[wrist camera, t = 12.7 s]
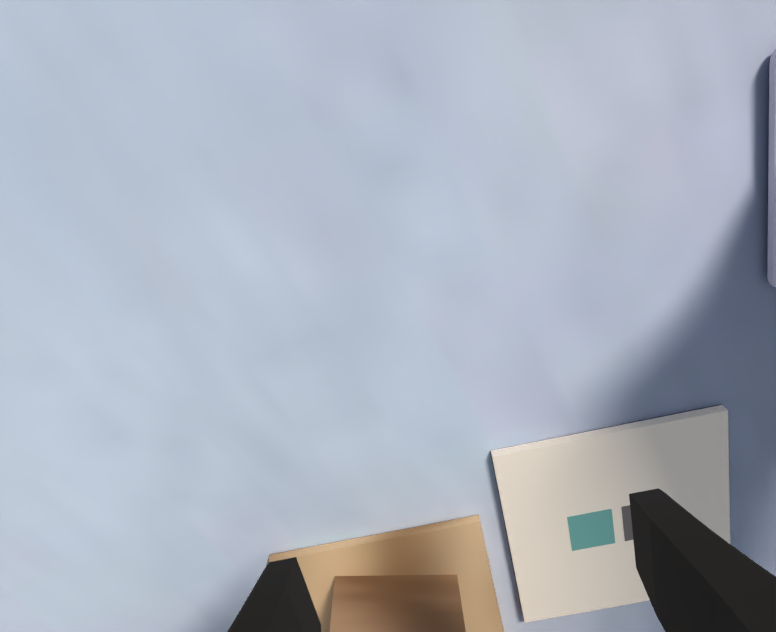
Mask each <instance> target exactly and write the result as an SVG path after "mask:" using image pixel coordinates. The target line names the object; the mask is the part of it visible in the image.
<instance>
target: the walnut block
mask: <svg viewBox="0 0 776 632" xmlns="http://www.w3.org/2000/svg"><path fill="white" fill-rule="evenodd" d="M330 632H466V629H465V623H464V616H463V610H462V604H461V597H460V591H459V584H458V578H457V575H383V576H335V578H334V589H333V600H332V611H331V621H330Z"/></svg>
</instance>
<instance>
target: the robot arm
mask: <svg viewBox="0 0 776 632" xmlns="http://www.w3.org/2000/svg"><path fill="white" fill-rule="evenodd" d="M767 278H768V282H769V283H770V285H771V286H773V287H775V288H776V49H775V50H774V52H773V54H772V55H771V58H770V65H769V166H768V268H767ZM629 499H630V509H631V520H632V530H633V541H634V551H635V562H636V569H637V571H638V574H639V576H640V578H641V581H642V583H643V585H644V588H645V590H646V592H647V595H648V597H649V599H650V601H651V604H652V606H653V608H654V610H655V613H656V615H657V617H658V619H659V621H660V622H661V624H662V626H663V628H664V630H665V631H666V632H776V577H775V576H774V575H772V574H771V573H769V572H768V571H767V570H765V569H764V568H762V567H761V566H759V565H758V564H757V563H755V562H754V561H752V560H751V559H750V558H748V557H747V556H746V555H744V554H743V553H741V552H740V551H739V550H737V549H736V548H735V547H733V546H732V545H731V544H729V543H728V542H726V541H725V540H724V539H723V538H721V537H720V536H719V535H717V534H716V533H715V532H713V531H712V530H711V529H710V528H708V527H707V526H706V525H704V524H703V523H702V522H701V521H699V520H698V519H697V518H696V517H694V516H693V515H692V514H691V513H689V512H688V511H687V510H686V509H684V508H683V507H682V506H681V505H679V504H678V503H677V502H676V501H675V500H673V499H672V498H671V497H670V496H668V495H667V494H666V493H665V492H663V491H662V490H660V489H659V488H657V489H652V490H647V491H642V492H636V493H631V494H629ZM228 632H321V623H320V620H319V617H318V615H317V612H316V609H315V607H314V604H313V601H312V599H311V596H310V593H309V591H308V588H307V585H306V582H305V580H304V577H303V574H302V572H301V569H300V566H299V564H298V561H297V558H296V557H294V558H289V559H283V560H278V561H273V562H269V563H268V565H267V566H266V568H265V569H264V571H263V573H262V574H261V576H260V578H259V580H258V581H257V583H256V585H255V586H254V588H253V590H252V592H251V593H250V595H249V597H248V598H247V600H246V602H245V604H244V605H243V607H242V609H241V610H240V612H239V614H238V615H237V617H236V619H235V620H234V622H233V624H232V625H231V627H230V628H229V630H228Z"/></svg>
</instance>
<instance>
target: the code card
mask: <svg viewBox="0 0 776 632" xmlns="http://www.w3.org/2000/svg"><path fill="white" fill-rule="evenodd" d="M491 455H492V460H493V465H494V470H495V476H496V481H497V486H498V491H499V496H500V501H501V506H502V511H503V516H504V521H505V527H506V532H507V537H508V542H509V547H510V552H511V557H512V562H513V567H514V572H515V577H516V583H517V588H518V593H519V598H520V603H521V608H522V613H523V617H524V621H525V623H526V622H531V621H537V620H543V619H548V618H554V617H560V616H565V615H571V614H577V613H582V612H588V611H594V610H599V609H605V608H611V607H616V606H622V605H628V604H633V603H639V602H645V601H650V599H649V597H648V595H647V592H646V590H645V588H644V585H643V583H642V581H641V578H640V576H639V574H638V571H637V569H636V562H635V551H634V541H633V530H632V520H631V509H630V499H629V494H631V493H636V492H642V491H647V490H652V489H657V488H659V489H660V490H662V491H663V492H665V493H666V494H667V495H668V496H670V497H671V498H672V499H673V500H675V501H676V502H677V503H678V504H679V505H681V506H682V507H683V508H684V509H686V510H687V511H688V512H689V513H691V514H692V515H693V516H694V517H696V518H697V519H698V520H699V521H701V522H702V523H703V524H704V525H706V526H707V527H708V528H710V529H711V530H712V531H713V532H715V533H716V534H717V535H719V536H720V537H721V538H723V539H724V540H725V541H726V542H728V543H729V544H730V494H729V438H728V410H727V409H726V408H725V407H724V406H723V405H719V406H714V407H709V408H704V409H699V410H694V411H689V412H684V413H678V414H673V415H668V416H663V417H658V418H653V419H648V420H643V421H638V422H633V423H628V424H623V425H618V426H613V427H608V428H603V429H598V430H593V431H588V432H583V433H578V434H573V435H568V436H563V437H558V438H552V439H547V440H542V441H537V442H532V443H527V444H522V445H517V446H512V447H507V448H502V449H497V450H492V451H491Z"/></svg>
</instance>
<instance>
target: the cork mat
mask: <svg viewBox="0 0 776 632" xmlns="http://www.w3.org/2000/svg"><path fill="white" fill-rule="evenodd" d="M294 557H296V558H297V561H298V564H299V566H300V569H301V572H302V574H303V577H304V580H305V582H306V585H307V588H308V591H309V593H310V596H311V599H312V601H313V604H314V607H315V609H316V612H317V615H318V617H319V620H320V623H321V632H330V621H331V611H332V600H333V589H334V578H335V576H383V575H457V578H458V584H459V591H460V597H461V604H462V610H463V616H464V623H465V629H466V632H504V631H503V626H502V621H501V617H500V612H499V608H498V603H497V598H496V594H495V589H494V584H493V580H492V575H491V570H490V566H489V561H488V557H487V552H486V547H485V543H484V538H483V533H482V529H481V524H480V520H479V515H476V516H470V517H465V518H460V519H455V520H450V521H444V522H439V523H434V524H429V525H423V526H418V527H413V528H408V529H402V530H397V531H392V532H387V533H381V534H376V535H371V536H366V537H360V538H355V539H350V540H345V541H339V542H334V543H329V544H324V545H318V546H313V547H308V548H303V549H297V550H292V551H287V552H282V553H276V554H271V555H270V556H269V561H268V563H269V562H273V561H278V560H283V559H289V558H294Z"/></svg>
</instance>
